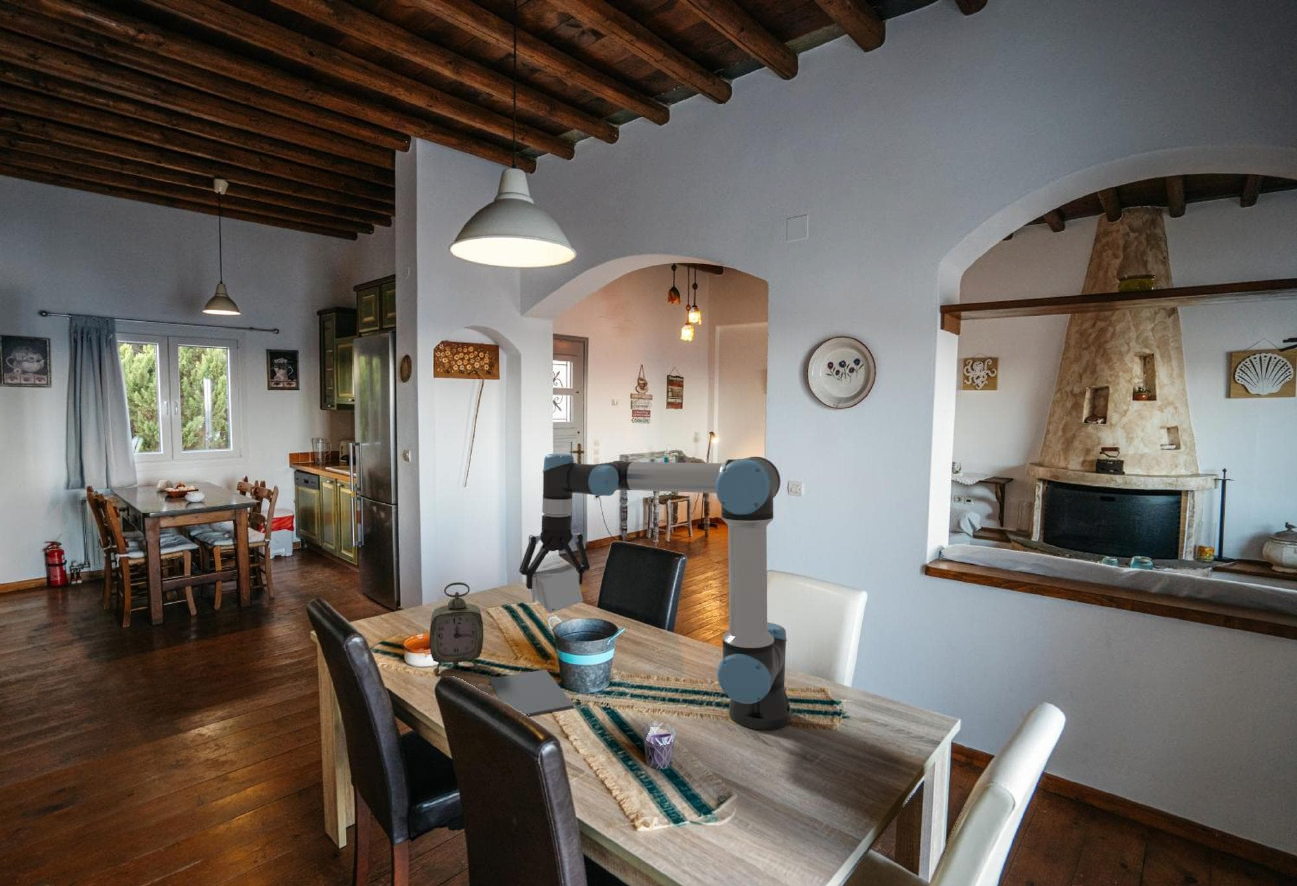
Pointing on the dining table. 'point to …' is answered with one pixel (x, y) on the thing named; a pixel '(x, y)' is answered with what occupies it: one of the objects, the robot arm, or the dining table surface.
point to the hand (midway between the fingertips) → (554, 598)
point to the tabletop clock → (456, 631)
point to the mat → (531, 692)
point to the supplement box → (557, 584)
